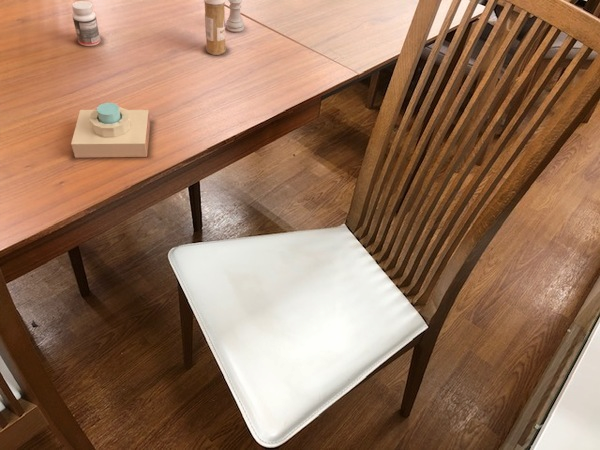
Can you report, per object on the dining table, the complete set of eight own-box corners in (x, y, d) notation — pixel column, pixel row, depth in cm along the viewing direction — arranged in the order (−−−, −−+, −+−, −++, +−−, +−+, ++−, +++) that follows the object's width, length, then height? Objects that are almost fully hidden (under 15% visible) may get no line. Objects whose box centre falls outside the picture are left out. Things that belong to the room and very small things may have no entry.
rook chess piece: (227, 33, 123) (227, 0, 117) (224, 24, 126) (224, -8, 120) (245, 32, 124) (246, 0, 118) (242, 24, 127) (243, -8, 121)
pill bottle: (78, 36, 115) (69, -1, 109) (100, 35, 116) (92, -1, 110) (78, 47, 112) (69, 9, 106) (101, 45, 113) (93, 8, 107)
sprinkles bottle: (227, 55, 116) (226, -5, 106) (207, 56, 114) (205, -4, 105) (224, 45, 119) (223, -14, 109) (204, 46, 117) (201, -14, 108)
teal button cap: (97, 124, 86) (95, 114, 85) (100, 112, 89) (98, 102, 87) (119, 124, 87) (117, 114, 86) (121, 112, 89) (119, 102, 88)
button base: (74, 157, 87) (68, 134, 83) (83, 123, 94) (77, 100, 90) (147, 156, 89) (143, 133, 85) (150, 123, 96) (147, 100, 92)
